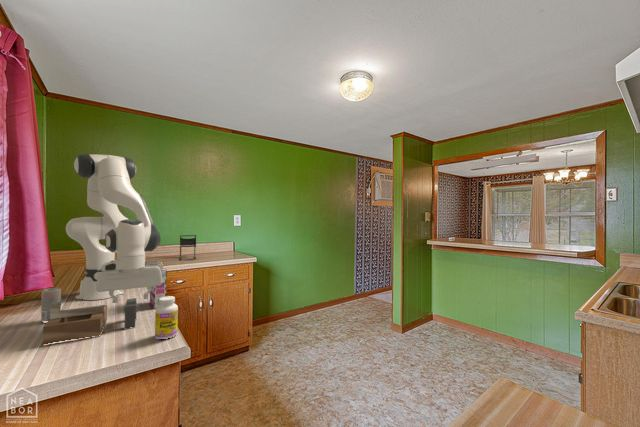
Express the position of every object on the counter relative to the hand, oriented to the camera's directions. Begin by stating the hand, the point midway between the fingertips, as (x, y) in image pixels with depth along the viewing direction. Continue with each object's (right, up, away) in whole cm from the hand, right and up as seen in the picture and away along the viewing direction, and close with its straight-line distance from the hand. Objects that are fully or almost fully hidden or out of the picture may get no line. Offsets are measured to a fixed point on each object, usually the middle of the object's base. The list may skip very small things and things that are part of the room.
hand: (130, 300), depth 104 cm
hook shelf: (-13, -9, -7) cm, 17 cm away
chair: (-48, -9, +146) cm, 154 cm away
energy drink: (-32, -9, +2) cm, 33 cm away
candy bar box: (-3, -9, +22) cm, 24 cm away
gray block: (0, -9, 0) cm, 9 cm away
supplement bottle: (+19, -9, -10) cm, 23 cm away
